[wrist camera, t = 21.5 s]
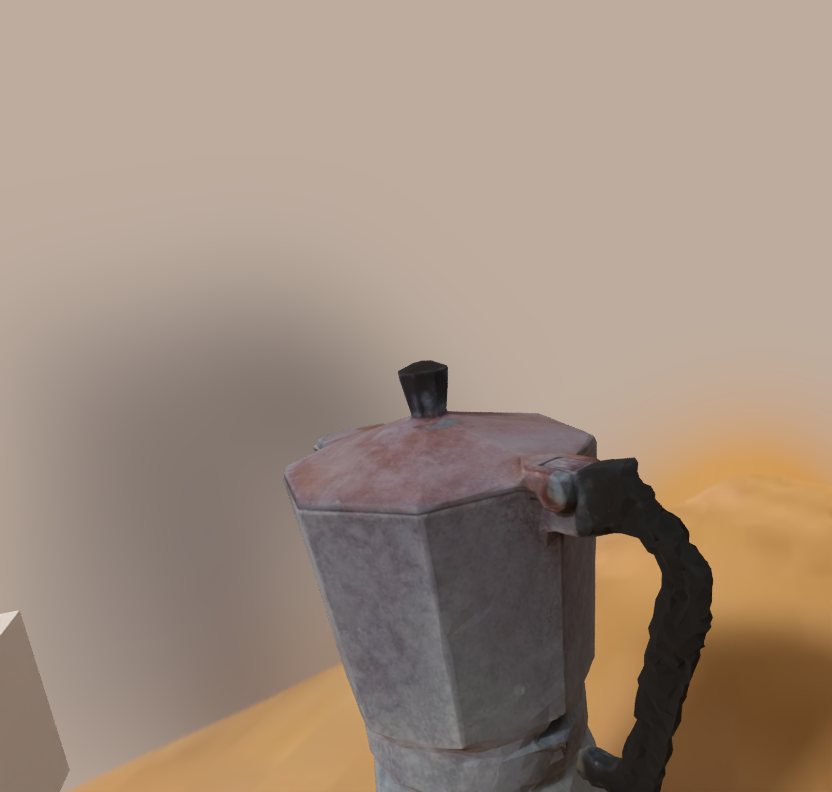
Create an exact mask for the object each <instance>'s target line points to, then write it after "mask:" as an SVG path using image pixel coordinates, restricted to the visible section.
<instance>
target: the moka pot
mask: <svg viewBox="0 0 832 792" xmlns="http://www.w3.org/2000/svg"><path fill="white" fill-rule="evenodd" d="M398 375H399V379H400V382H401V385H402V388H403V391H404V395H405V397H406V400H407V403H408V406H409V408H410V411H411V416H410V417H407V418H403V419H400V420H397V421H394V422H390V423H387V424H376V425H370V426H363V427H356V428H349V429H346V430H343V431H340V432H337V433H334V434H331V435H327V436H325V437H323V438H321V439H320V440H318V443H317V444H316V445H314V447H313V449H314V450H315V451H316V452H314V453H312V454H310V455H308V456H306V457H304V458H302V459H300V460H298V461H296V462H294V463H292V464H290V465H288V466H286V469H285V474H284V483H285V486H286V489H287V493H288V496H289V499H290V501H291V505H292V508H293V511H294V514H295V517H296V520H297V522H298V526H299V529H300V532H301V535H302V538H303V541H304V544H305V547H306V550H307V553H308V556H309V559H310V562H311V565H312V568H313V570H314V574H315V577H316V580H317V584H318V587H319V590H320V593H321V596H322V599H323V603H324V606H325V609H326V612H327V616H328V619H329V622H330V625H331V628H332V631H333V635H334V638H335V641H336V644H337V648H338V651H339V654H340V657H341V660H342V663H343V666H344V669H345V672H346V675H347V678H348V681H349V683H350V686H351V688H352V691H353V694H354V696H355V699H356V702H357V704H358V707H359V710H360V713H361V715H362V717H363V719H364V721H365V726H366V731H367V736H368V741H369V746H370V750H371V752H372V754H373V755H374V760H375V777H376V792H660V790H661V785H662V780H663V778H664V776H665V766H666V764H667V762H668V760H669V758H670V757H671V755H672V751H673V747H672V736H673V735H674V733H675V731H676V730H677V728H678V726H679V724H680V722H681V713H682V704H683V702H684V701H685V699H686V697H687V691H688V687H689V683H690V680H691V678H692V675H693V673H694V670H695V668H696V666H697V663H698V661H699V658H700V649H701V648H703V647H705V645H704V640H705V636H706V633H707V632H708V631H709V629H710V628H711V624H710V623H711V620H712V618H713V617H712V614H711V611H710V606H711V603H712V585H713V577H712V571H711V568H710V566H709V565H708V562H707V561H706V560H705V559H704V557H703V556H702V555H701V554H700V553H699V551H698V549H697V547H696V546H695V545H693V544H691V543H690V542H689V531H688V530H687V528H686V527H685V525H684V524H683V522H682V521H681V519H680V518H678V517H677V516H675V515H674V514H672V513H671V512H668V511H667V510H665V509H664V508H663V507H662V506H661V505H660V503H658V502H657V500H656V499H655V492H654V491H653V489H652V488H651V486H649V485H647V484H644V483H643V482H642V480H641V479H640V478H639V475H638V472H637V469H638V462H637V460H636V459H635V458H625V459H611V460H604V461H600V460H598V459H597V452H596V451H597V449H596V448H597V442H596V440H595V437H594V436H592V435H590V434H588V433H586V432H584V431H582V430H579V429H576V428H574V427H571V426H569V425H566V424H563V423H561V422H559V421H556V420H554V419H551V418H549V417H547V416H544V415H541V414H536V413H535V414H534V413H493V412H452V411H447V409H446V406H447V388H448V383H447V382H448V367H447V365H444V364H440V363H437V362H434V361H431V360H430V361H419V362H416V363H413V364H411V365H409V366H407V367H405V368H403V369H401V370H399V371H398ZM612 533H622V534H626V535H629V536H633V537H636V538H639V539H640V541H641V542H642V544H643V545H644V547H645V548H646V550H647V551H648V552H649V553H651V554H653V555H654V556H655V558H656V560H657V563H658V565H659V567H660V569H661V572H662V586H661V589H660V591H659V593H658V596H657V598H656V600H655V607H654V614H653V618H652V620H651V623H650V625H649V627H648V629H649V634H650V639H649V642H648V645H647V648H646V651H645V654H644V667H643V669H642V671H641V673H640V675H639V677H638V679H637V680H638V684H639V687H638V690H637V695H636V700H635V710H634V717H635V718H636V719H637V721H636V723H635V725H634V727H633V729H632V731H631V733H630V734H629V736H628V737H627V740H626V742H625V745H624V748H623V751H622V758H618V757H615V756H613V755H611V754H609V753H608V752H606V751H604V750H603V749H601V748H598V747H596V743H595V740H594V738H593V736H592V734H591V732H590V730H589V727H588V725H587V722H588V712H587V701H586V691H585V683H584V681H585V678H586V676H587V674H588V672H589V669H590V666H591V664H592V661H593V659H594V652H595V551H596V537H597V536H602V535H607V534H612Z"/></svg>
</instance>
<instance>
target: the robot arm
mask: <svg viewBox="0 0 832 792" xmlns="http://www.w3.org/2000/svg"><path fill="white" fill-rule="evenodd" d="M68 772H69V767H68V763H67V760H66V757H65V754H64V751H63V747H62V744H61V741H60V738H59V735H58V732H57V728H56V725H55V722H54V719H53V716H52V712H51V709H50V706H49V703H48V700H47V696H46V693H45V690H44V687H43V684H42V681H41V677H40V674H39V671H38V668H37V665H36V661H35V658H34V655H33V652H32V648H31V645H30V642H29V639H28V636H27V633H26V629H25V626H24V623H23V620H22V617H21V613H20V611H14V612H8V613H3V614H0V792H60V790H61V788H62V785H63V783H64V781H65V779H66V777H67V774H68Z"/></svg>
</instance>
